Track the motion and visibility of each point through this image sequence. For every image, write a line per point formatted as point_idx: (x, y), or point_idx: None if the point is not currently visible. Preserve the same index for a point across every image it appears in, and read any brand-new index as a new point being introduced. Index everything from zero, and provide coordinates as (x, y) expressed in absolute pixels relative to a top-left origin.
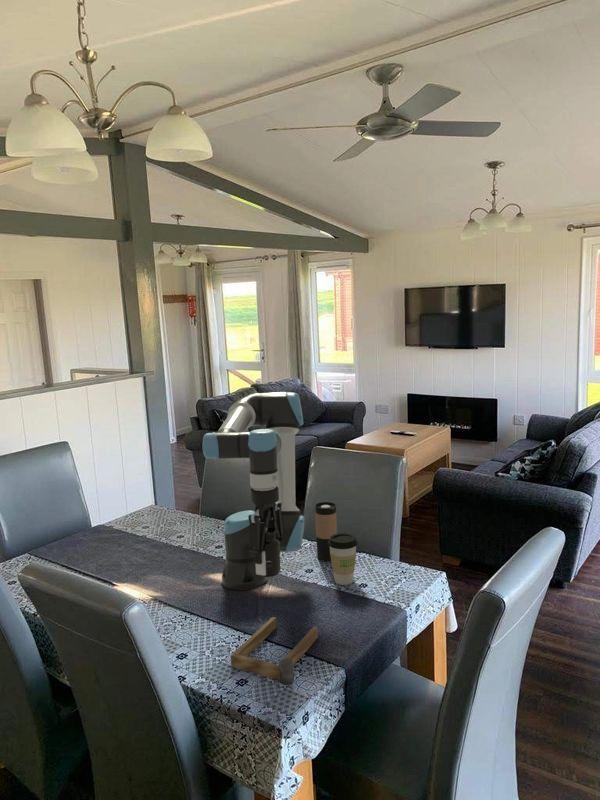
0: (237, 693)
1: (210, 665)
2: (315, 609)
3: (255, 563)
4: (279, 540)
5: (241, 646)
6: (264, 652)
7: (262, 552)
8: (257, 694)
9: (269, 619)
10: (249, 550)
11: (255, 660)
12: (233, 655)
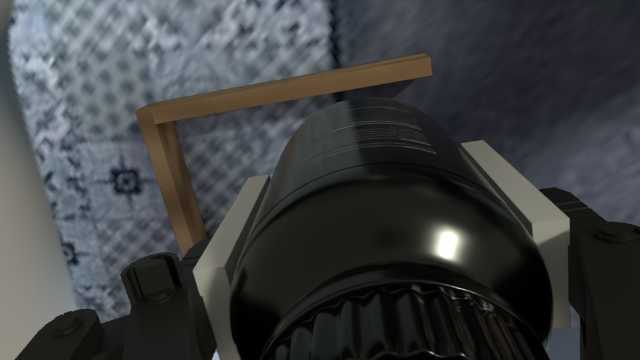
0: (87, 203)
1: (108, 38)
2: (624, 113)
3: (288, 149)
4: (581, 346)
5: (195, 103)
6: (274, 139)
7: (220, 350)
8: (121, 247)
9: (404, 61)
10: (48, 324)
11: (171, 197)
12: (141, 118)
